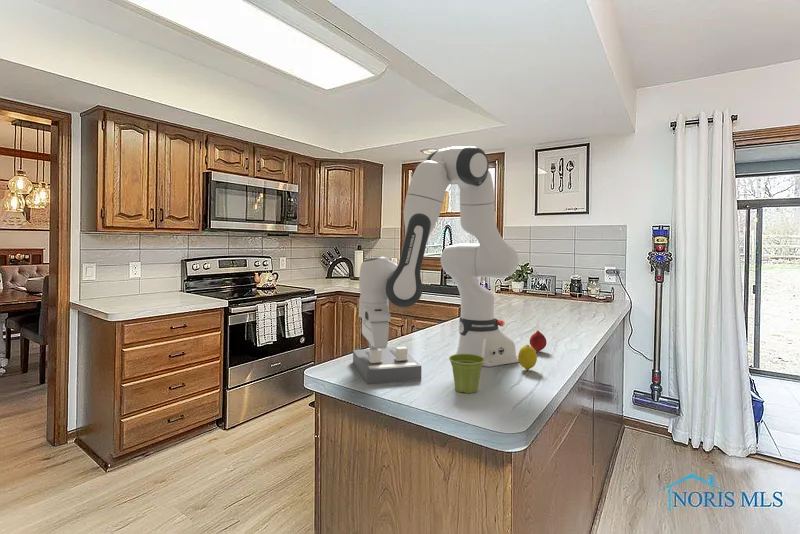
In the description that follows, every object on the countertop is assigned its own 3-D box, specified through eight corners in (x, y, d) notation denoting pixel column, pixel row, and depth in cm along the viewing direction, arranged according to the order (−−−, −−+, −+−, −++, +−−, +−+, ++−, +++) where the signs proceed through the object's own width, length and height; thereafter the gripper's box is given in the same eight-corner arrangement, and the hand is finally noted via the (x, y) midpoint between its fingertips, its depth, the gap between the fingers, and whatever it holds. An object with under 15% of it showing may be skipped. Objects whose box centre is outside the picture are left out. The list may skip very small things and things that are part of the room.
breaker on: (405, 357, 131) (405, 346, 131) (408, 360, 129) (408, 348, 128) (394, 358, 130) (394, 346, 130) (396, 360, 128) (397, 349, 127)
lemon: (537, 373, 131) (538, 347, 130) (518, 372, 132) (519, 346, 131) (535, 368, 136) (536, 343, 136) (517, 366, 137) (518, 342, 137)
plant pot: (460, 398, 110) (461, 365, 110) (442, 386, 119) (442, 355, 118) (490, 393, 114) (491, 361, 113) (471, 382, 122) (471, 352, 122)
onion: (547, 351, 157) (548, 329, 156) (543, 354, 152) (544, 332, 151) (531, 348, 160) (532, 327, 159) (527, 352, 155) (528, 330, 155)
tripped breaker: (380, 359, 129) (380, 347, 129) (382, 362, 126) (382, 350, 126) (368, 360, 128) (368, 348, 128) (370, 363, 125) (370, 351, 125)
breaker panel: (399, 358, 145) (399, 346, 145) (421, 379, 124) (421, 365, 124) (352, 362, 141) (353, 349, 140) (367, 384, 120) (367, 369, 119)
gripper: (357, 305, 138) (356, 347, 139) (370, 317, 118) (369, 366, 119) (376, 304, 140) (376, 346, 141) (392, 316, 120) (391, 365, 121)
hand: (373, 356), depth 130 cm, fingers closed
